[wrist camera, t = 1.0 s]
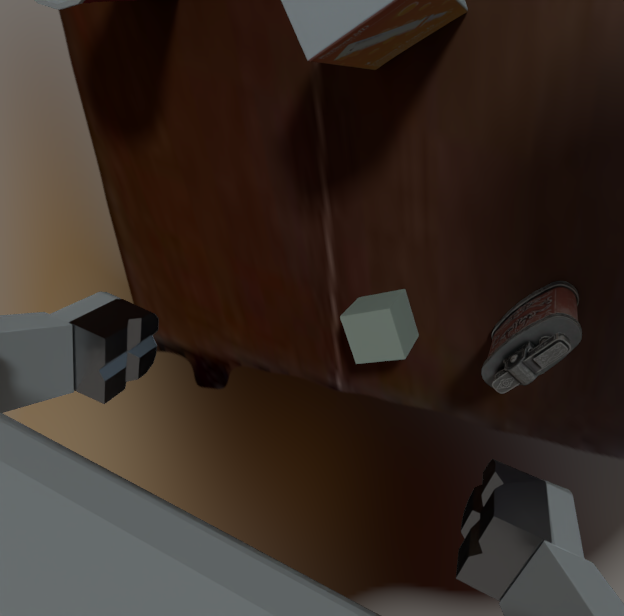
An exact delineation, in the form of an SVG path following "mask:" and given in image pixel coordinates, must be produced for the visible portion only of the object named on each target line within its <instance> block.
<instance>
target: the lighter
mask: <svg viewBox="0 0 624 616" xmlns="http://www.w3.org/2000/svg"><path fill="white" fill-rule="evenodd" d="M578 303H579V295H578V292H577V290H576V288H575V287H574V286H573V285H571V284H570V283H568V282H565V281H556V282H552V283H550V284H548V285H546V286H545V287H543V288H541V289H539V290H537V291H535V292H533V293H532V294H530V295H529V296H527V297H526V298H524V299H523V300H521V301H520V302H518V303H517V304H516V305H515V306H514V307H513V308H512V309H511V310H509V311H508V312H507V313H506V314H505V315H504V316H503V317H502V319H501V320H500V321H499V322H498V323H497V324H496V325H495V327H494V329H493V331H492V344H491V347H490V351H489V355H488V358H487V360H486V361H485V362H484V364H483V367H482V373H481V375H482V377H483V380H484V381H485V382H486V383H487V384H488V385H489V386H491V387H492V388H494V389H495V390H496V391H497V392H499V393H501V394H502V393H506V392H508V391H509V390H511V389H512V388H514V387H516V386H518V385H524V386H525V385H528V384H529V383H531V382H532V381H534V380H535V379H536V377H537V376H539V375H541V374H542V373H544V372H546V371H547V370H549V369H550V368H551V367H553V366H554V365H555V364H557V363H558V362H559V361H561V360H562V359H563V358H564V357H566V356H567V355H568V354H569V353H570V352H571V351H572V350H573V349H574V348H575V347H576V346H577V345H578V344H579V343H580V341H581V339H582V329H581V326H580V324H579V322H578V315H577V306H578Z"/></svg>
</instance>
